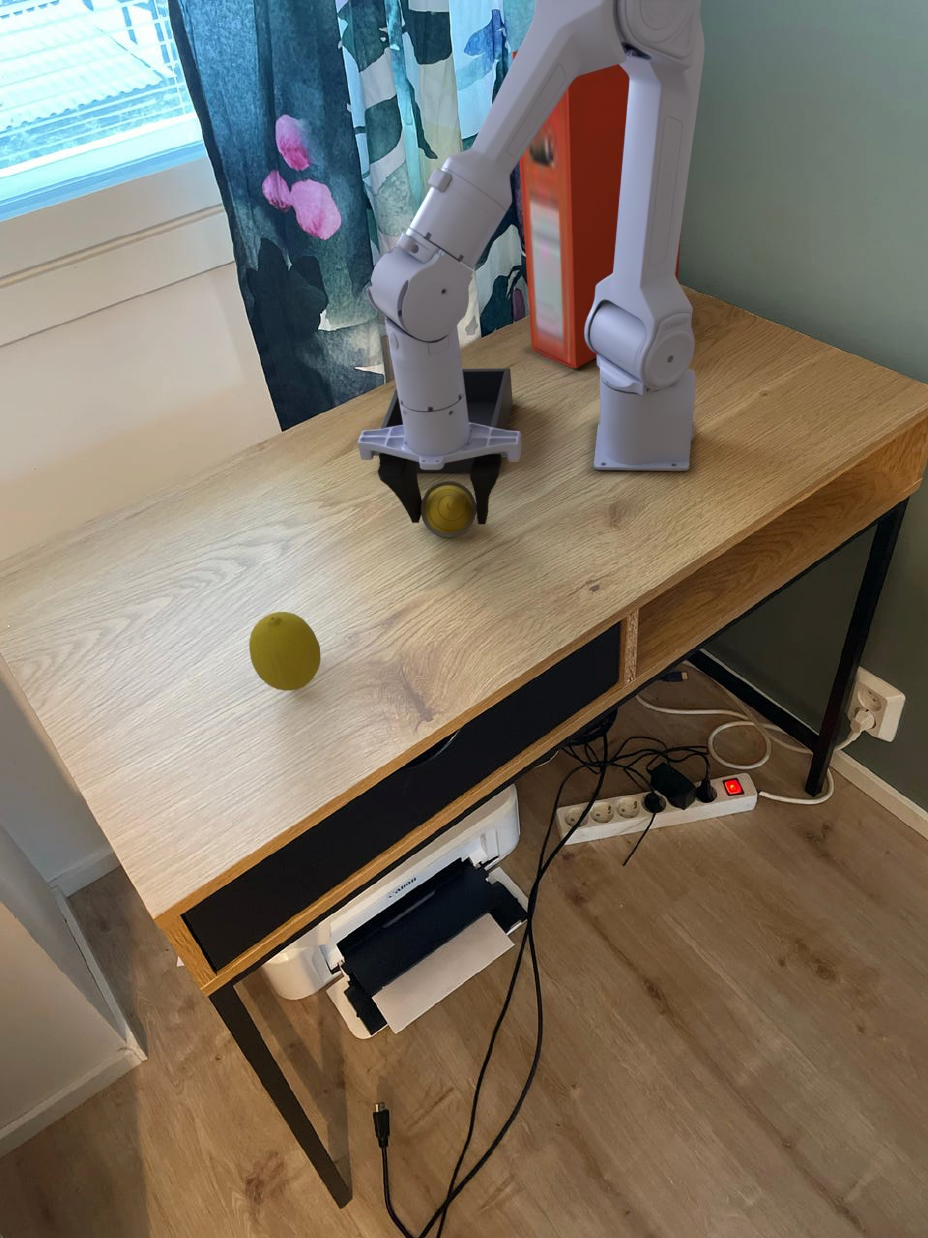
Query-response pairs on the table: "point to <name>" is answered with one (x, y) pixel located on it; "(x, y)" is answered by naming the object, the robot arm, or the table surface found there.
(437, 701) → the table surface
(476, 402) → the bin
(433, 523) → the yellow traffic cone
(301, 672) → the lemon
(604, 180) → the file binder
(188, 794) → the table surface
